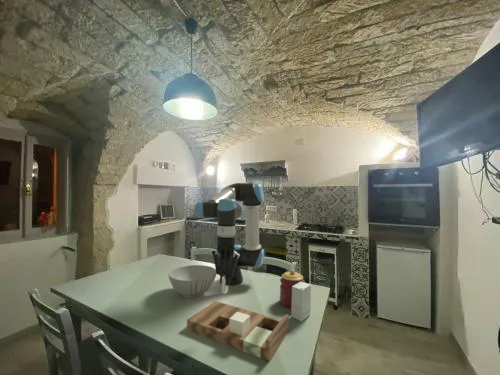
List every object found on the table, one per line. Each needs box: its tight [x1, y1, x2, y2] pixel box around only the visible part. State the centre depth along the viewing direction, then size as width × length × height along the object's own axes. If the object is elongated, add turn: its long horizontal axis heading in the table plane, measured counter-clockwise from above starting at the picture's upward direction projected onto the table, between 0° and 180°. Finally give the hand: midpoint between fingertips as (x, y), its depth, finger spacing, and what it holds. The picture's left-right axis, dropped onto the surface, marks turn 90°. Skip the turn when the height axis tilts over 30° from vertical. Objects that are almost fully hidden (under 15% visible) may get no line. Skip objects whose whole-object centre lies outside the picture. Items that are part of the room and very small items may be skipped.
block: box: [229, 312, 250, 336], centre depth 92 cm, size 6×6×5 cm
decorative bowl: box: [168, 264, 217, 299], centre depth 134 cm, size 27×27×12 cm
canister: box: [279, 269, 306, 309], centre depth 125 cm, size 13×13×18 cm
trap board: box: [186, 300, 290, 362], centre depth 99 cm, size 38×20×7 cm, turn 62°
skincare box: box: [290, 282, 312, 322], centre depth 111 cm, size 8×6×15 cm
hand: (224, 292), depth 97 cm, fingers closed
